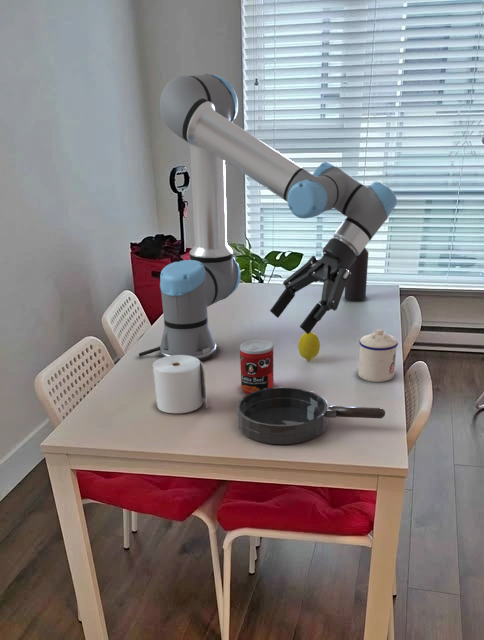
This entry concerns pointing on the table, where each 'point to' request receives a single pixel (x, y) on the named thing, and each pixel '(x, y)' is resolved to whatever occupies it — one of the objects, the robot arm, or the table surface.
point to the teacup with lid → (377, 356)
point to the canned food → (256, 365)
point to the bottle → (357, 278)
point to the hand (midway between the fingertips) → (288, 322)
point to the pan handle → (354, 412)
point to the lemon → (309, 345)
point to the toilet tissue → (179, 383)
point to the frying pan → (282, 415)
